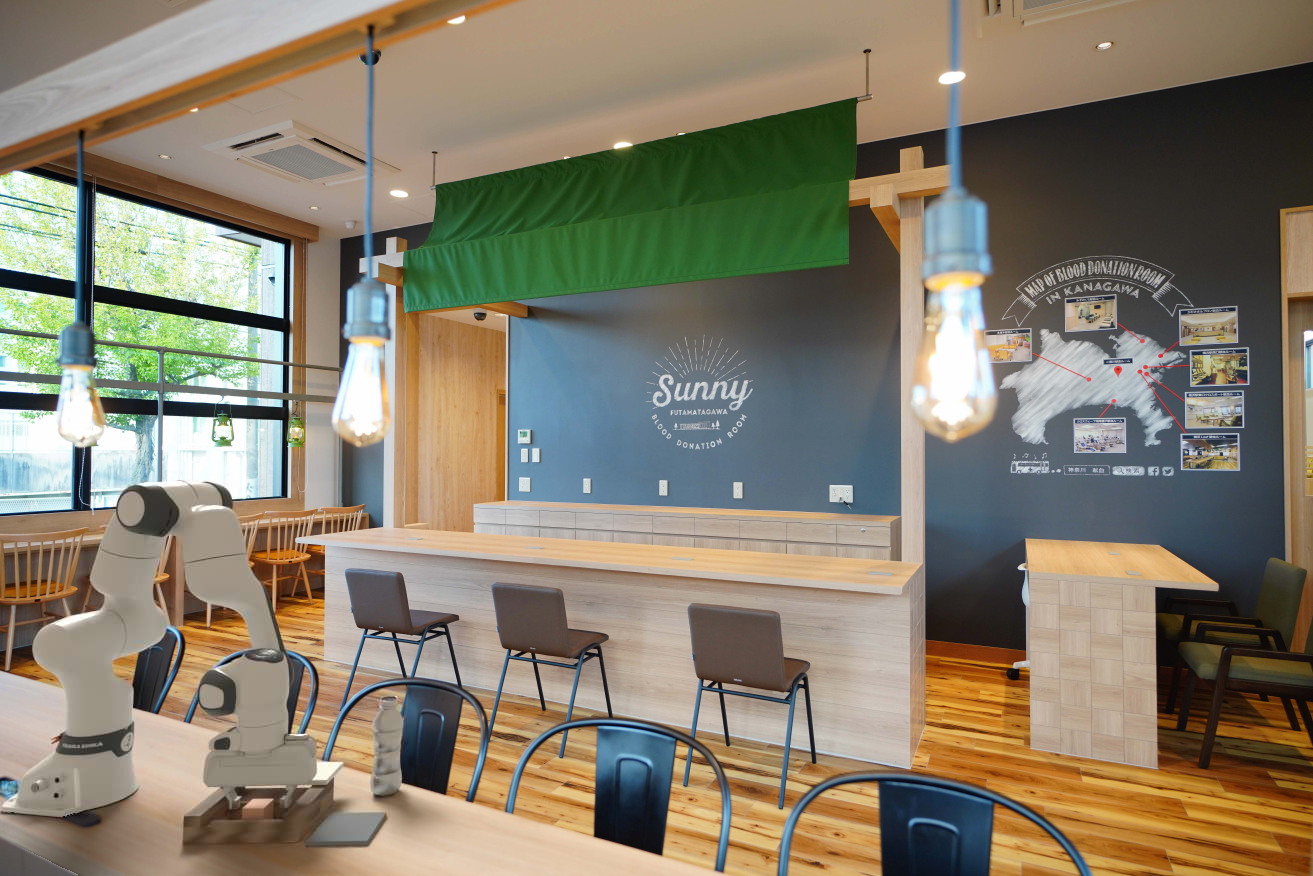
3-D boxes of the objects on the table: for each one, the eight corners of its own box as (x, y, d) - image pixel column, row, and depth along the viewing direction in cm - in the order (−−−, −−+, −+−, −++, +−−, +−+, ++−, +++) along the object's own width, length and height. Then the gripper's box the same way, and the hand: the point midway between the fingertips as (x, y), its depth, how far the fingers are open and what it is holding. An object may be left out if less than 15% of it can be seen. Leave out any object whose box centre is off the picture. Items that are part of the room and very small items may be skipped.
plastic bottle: (371, 802, 147) (374, 705, 148) (368, 789, 153) (371, 696, 154) (403, 796, 150) (406, 701, 151) (399, 783, 156) (402, 692, 157)
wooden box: (182, 843, 130) (183, 816, 130) (229, 803, 146) (230, 778, 146) (298, 842, 131) (299, 814, 131) (333, 801, 147) (334, 777, 147)
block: (241, 832, 135) (242, 808, 135) (252, 822, 139) (253, 798, 139) (262, 832, 135) (263, 808, 135) (272, 821, 139) (273, 798, 139)
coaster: (306, 846, 130) (306, 841, 130) (330, 816, 141) (330, 812, 141) (367, 845, 130) (367, 840, 131) (386, 816, 141) (386, 812, 141)
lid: (220, 786, 142) (221, 768, 142) (243, 767, 151) (244, 751, 151) (326, 784, 143) (327, 767, 144) (343, 766, 152) (344, 750, 153)
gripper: (323, 727, 141) (321, 798, 141) (218, 730, 140) (216, 801, 139) (310, 739, 135) (308, 813, 134) (199, 742, 134) (197, 816, 133)
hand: (260, 807), depth 137 cm, fingers open, 8 cm apart
